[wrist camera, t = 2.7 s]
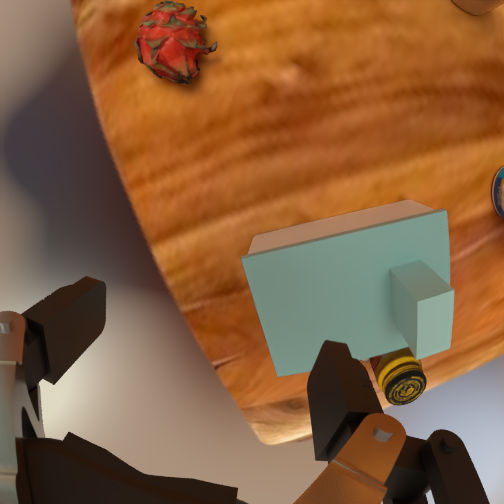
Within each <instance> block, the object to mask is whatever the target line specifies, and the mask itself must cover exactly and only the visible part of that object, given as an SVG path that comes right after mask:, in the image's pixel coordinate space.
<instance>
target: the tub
mask: <svg viewBox="0 0 504 504" xmlns="http://www.w3.org/2000/svg"><path fill="white" fill-rule="evenodd" d="M433 210H435V209H432V208H430V207H428V206H425V205H423V204H421V203H418V202H416V201H413V200H411V199H408V200H404V201H399V202H395V203H390V204H386V205H381V206H377V207H373V208H368V209H364V210H359V211H355V212H351V213H346V214H342V215H338V216H334V217H329V218H325V219H321V220H316V221H312V222H308V223H304V224H300V225H295V226H291V227H287V228H283V229H279V230H275V231H271V232H266V233H262V234H258V235H254V237H253V240H252V243H251V246H250V249H249V251H248V254H251V253H255V252H259V251H264V250H268V249H272V248H276V247H281V246H285V245H289V244H293V243H298V242H302V241H306V240H310V239H315V238H319V237H323V236H327V235H332V234H336V233H340V232H344V231H348V230H353V229H357V228H361V227H365V226H370V225H374V224H378V223H382V222H387V221H391V220H395V219H399V218H403V217H408V216H412V215H416V214H420V213H425V212H429V211H433Z"/></svg>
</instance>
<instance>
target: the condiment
mask: <svg viewBox="0 0 504 504" xmlns="http://www.w3.org/2000/svg"><path fill="white" fill-rule="evenodd" d="M368 360H370V363H371V366H372V368H373V371H374V374H375V377H376V381H377V383H378V386H379V387H380V388H381V389H382V390H383V392H384V394H385V397H386V399H387V401H388V402H389V403H391V404H393V405H405V404H408V403H411V402H413V401H414V400H416V399H417V398H418V397H419V396H420V395H421V394H422V393H423V391H424V390H425V387H426V383H427V382H426V377H425V375H424V373H423V370H422V364H421V361H420V359H419V360H416V359H415V357H414V355H413V354H412V352H411V350H410V348H409V347H406V348H402V349H399V350H396V351H392V352H389V353H385V354H382V355H378V356H374V357H370V358H367V359H363V360H362V362H364V361H368Z"/></svg>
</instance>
